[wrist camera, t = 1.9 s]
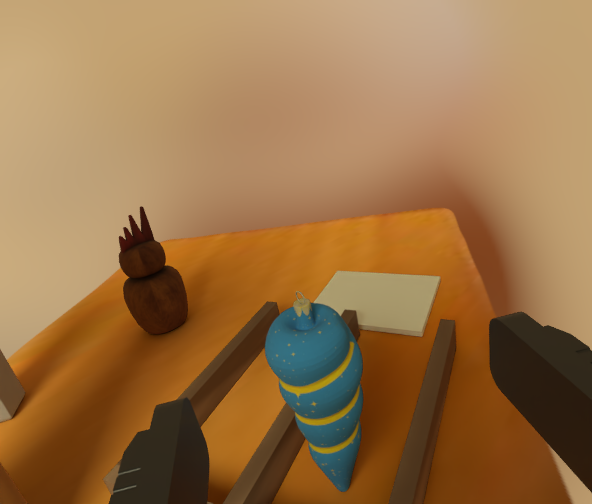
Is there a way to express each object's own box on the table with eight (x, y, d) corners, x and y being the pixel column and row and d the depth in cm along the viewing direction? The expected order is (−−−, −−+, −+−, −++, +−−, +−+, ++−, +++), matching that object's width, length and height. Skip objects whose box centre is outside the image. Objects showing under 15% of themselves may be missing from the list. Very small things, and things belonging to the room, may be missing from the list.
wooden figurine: (191, 306, 54) (155, 198, 48) (198, 327, 49) (157, 209, 43) (139, 324, 52) (95, 214, 47) (140, 347, 47) (90, 228, 41)
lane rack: (118, 508, 29) (103, 479, 28) (272, 323, 47) (267, 301, 46) (394, 640, 20) (388, 606, 18) (456, 347, 37) (455, 320, 36)
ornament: (339, 544, 24) (290, 335, 18) (288, 486, 28) (234, 299, 22) (397, 485, 27) (371, 285, 21) (342, 440, 31) (307, 261, 25)
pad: (303, 322, 46) (302, 317, 46) (338, 274, 55) (337, 270, 54) (422, 336, 40) (421, 331, 39) (440, 280, 48) (440, 276, 48)
